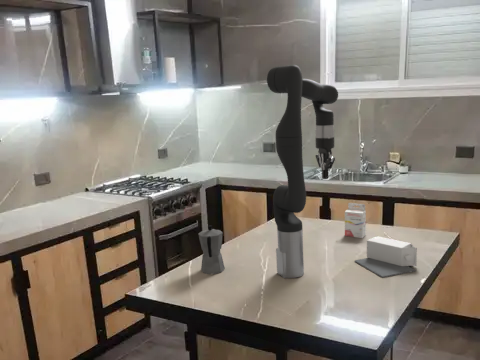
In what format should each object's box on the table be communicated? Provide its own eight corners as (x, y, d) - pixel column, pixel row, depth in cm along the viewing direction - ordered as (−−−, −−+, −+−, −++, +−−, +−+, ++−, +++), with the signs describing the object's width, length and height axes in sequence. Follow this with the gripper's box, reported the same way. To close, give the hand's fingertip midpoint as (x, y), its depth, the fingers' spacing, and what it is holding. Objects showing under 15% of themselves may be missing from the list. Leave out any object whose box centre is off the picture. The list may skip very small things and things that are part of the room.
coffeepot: (202, 264, 189) (199, 221, 186) (225, 263, 189) (223, 220, 186) (198, 279, 174) (195, 232, 171) (224, 278, 174) (221, 231, 171)
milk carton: (376, 235, 188) (421, 245, 175) (376, 252, 190) (421, 263, 176) (366, 240, 184) (411, 250, 170) (366, 257, 185) (411, 268, 171)
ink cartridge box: (344, 236, 215) (343, 204, 212) (348, 233, 219) (347, 202, 216) (362, 238, 210) (362, 206, 207) (366, 235, 214) (366, 203, 212)
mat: (382, 277, 166) (382, 276, 166) (354, 261, 183) (354, 260, 183) (415, 271, 170) (415, 269, 170) (385, 255, 187) (385, 254, 187)
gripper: (309, 135, 195) (309, 177, 198) (324, 138, 182) (324, 181, 185) (325, 134, 197) (325, 175, 200) (341, 136, 184) (341, 180, 187)
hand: (325, 178), depth 193 cm, fingers closed
